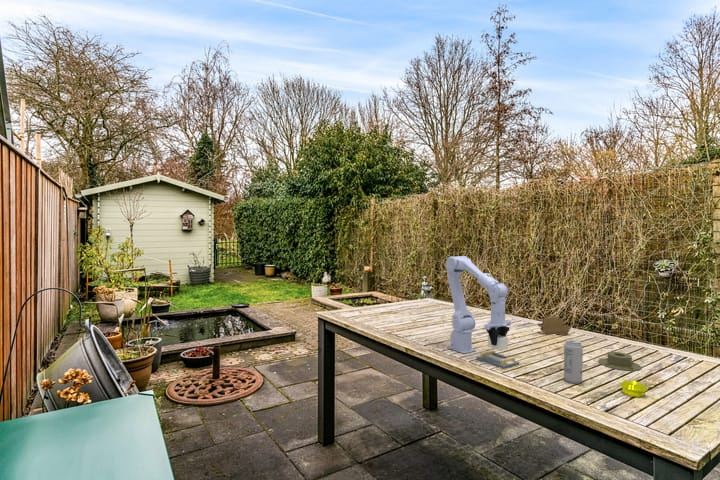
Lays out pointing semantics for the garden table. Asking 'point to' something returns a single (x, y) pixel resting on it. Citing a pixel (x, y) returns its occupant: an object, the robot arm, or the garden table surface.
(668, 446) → the garden table surface
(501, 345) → the block
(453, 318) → the robot arm
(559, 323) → the wooden carving
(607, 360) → the flange
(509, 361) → the rail base
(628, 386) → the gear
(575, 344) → the energy drink can
